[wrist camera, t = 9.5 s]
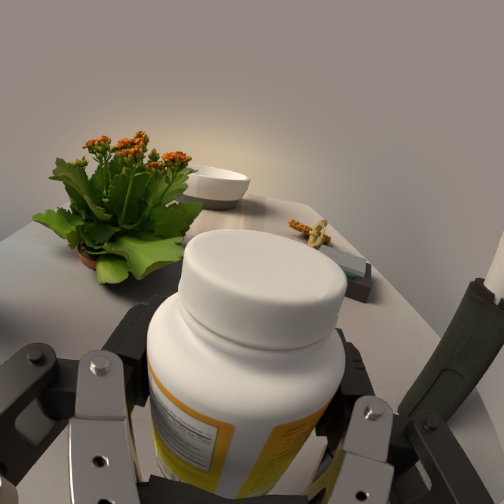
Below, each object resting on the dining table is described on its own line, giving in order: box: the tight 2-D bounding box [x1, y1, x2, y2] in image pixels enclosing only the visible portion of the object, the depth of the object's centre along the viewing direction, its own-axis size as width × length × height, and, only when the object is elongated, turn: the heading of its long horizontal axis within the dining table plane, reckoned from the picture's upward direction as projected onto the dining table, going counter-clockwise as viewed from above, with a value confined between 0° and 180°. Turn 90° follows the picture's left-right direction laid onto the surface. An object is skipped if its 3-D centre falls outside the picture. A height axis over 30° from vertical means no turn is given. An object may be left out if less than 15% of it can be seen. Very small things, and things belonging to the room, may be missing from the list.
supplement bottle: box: [147, 229, 347, 499], centre depth 9 cm, size 6×6×10 cm
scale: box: [313, 245, 371, 303], centre depth 46 cm, size 11×11×3 cm
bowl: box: [175, 164, 250, 210], centre depth 77 cm, size 22×22×8 cm
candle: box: [398, 231, 504, 423], centre depth 16 cm, size 5×5×25 cm
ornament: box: [288, 220, 331, 248], centre depth 61 cm, size 7×10×15 cm
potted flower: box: [32, 131, 203, 285], centre depth 35 cm, size 25×24×18 cm
